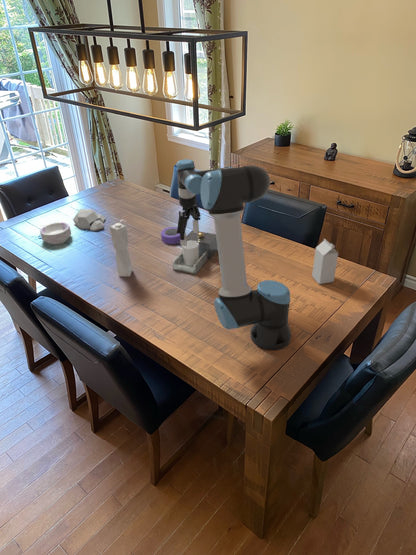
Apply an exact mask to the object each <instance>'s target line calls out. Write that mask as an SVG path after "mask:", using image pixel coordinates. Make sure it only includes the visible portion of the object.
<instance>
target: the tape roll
mask: <svg viewBox="0 0 416 555" xmlns="http://www.w3.org/2000/svg"><path fill="white" fill-rule="evenodd" d="M177 228H178V226H169V227H168V226H167V227H166V228H164V229H162V230H161V232H160V237H161V242H163V244H167V245H176V244H178V243H180V244H181V242H180V234H178V233H177Z"/></svg>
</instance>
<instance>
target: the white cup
mask: <svg viewBox="0 0 416 555" xmlns="http://www.w3.org/2000/svg"><path fill="white" fill-rule="evenodd" d="M181 246H182V245H181ZM181 248H182V250H183V257H184V263H185V264H186V265H188V266H193V265H194V264H195V263H196V262H197V261H198V256H199V255H198V254H199V244H198V242H196V241H192V240H190V241H187V246H182V247H181ZM182 250H181V251H182Z"/></svg>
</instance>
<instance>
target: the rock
mask: <svg viewBox="0 0 416 555" xmlns="http://www.w3.org/2000/svg"><path fill="white" fill-rule="evenodd" d="M72 220H73V222H74V224H75V225H76V226H77V227H78V228H79V229H81V230H90V231H91V232H95V231H101V230H103V229H104V227H105V226H104V222H105V220H106V217H105V216H104V215H102V214H101V213H97V211H95V210H93V208H92V209H91V208H86V209H85V208H80V209H79V210H78V212H77V213H76V215H75V216H74V218H72Z"/></svg>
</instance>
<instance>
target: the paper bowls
mask: <svg viewBox="0 0 416 555" xmlns="http://www.w3.org/2000/svg"><path fill="white" fill-rule="evenodd" d="M39 233H40V234H39V235H40V236H41V239H42V241H43V242H44V243H47V244H50V245H59V244H63V243H65V242H67V240H68V239H69V238H70V237H71V235H72V231H71V227H70V225H69V224H68V223H67V222H62V221H60V222H53V223H49V224H46V225H44V226H42V228H41V229H40V230H39Z"/></svg>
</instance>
